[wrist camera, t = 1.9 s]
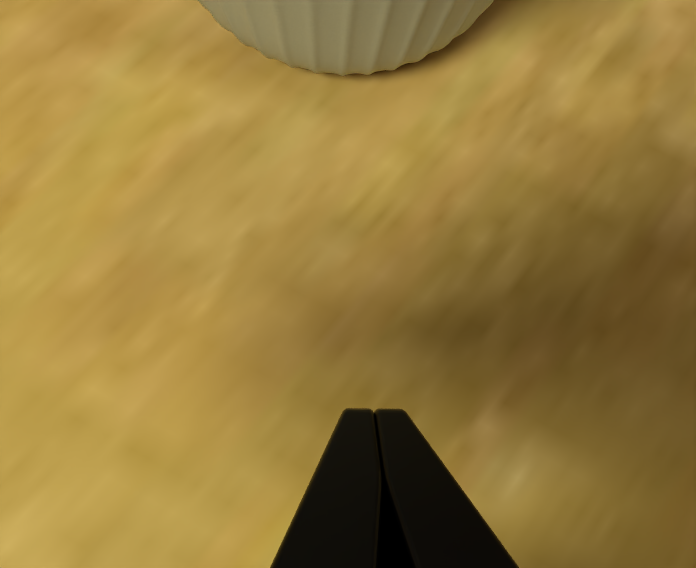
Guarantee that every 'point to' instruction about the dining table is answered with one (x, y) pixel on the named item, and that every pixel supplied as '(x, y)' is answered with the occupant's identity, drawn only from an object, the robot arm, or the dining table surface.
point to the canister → (346, 30)
